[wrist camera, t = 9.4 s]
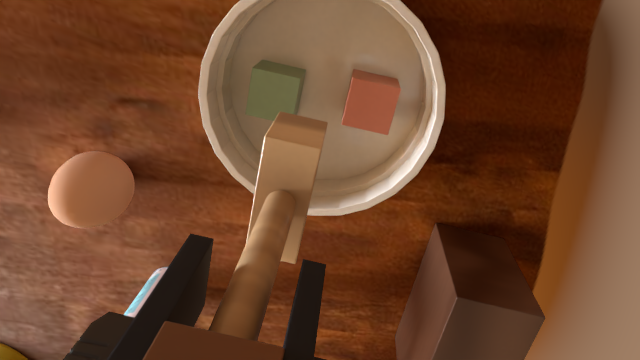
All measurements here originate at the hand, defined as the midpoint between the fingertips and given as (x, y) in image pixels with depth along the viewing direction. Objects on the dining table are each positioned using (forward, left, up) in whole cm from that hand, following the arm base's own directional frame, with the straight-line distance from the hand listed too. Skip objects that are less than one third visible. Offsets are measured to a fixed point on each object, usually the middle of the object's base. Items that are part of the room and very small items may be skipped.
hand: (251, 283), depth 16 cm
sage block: (+4, +1, -29) cm, 29 cm away
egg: (+19, +13, -30) cm, 38 cm away
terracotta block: (-4, 0, -29) cm, 29 cm away
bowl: (0, 0, -30) cm, 30 cm away
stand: (-17, +18, -30) cm, 39 cm away
